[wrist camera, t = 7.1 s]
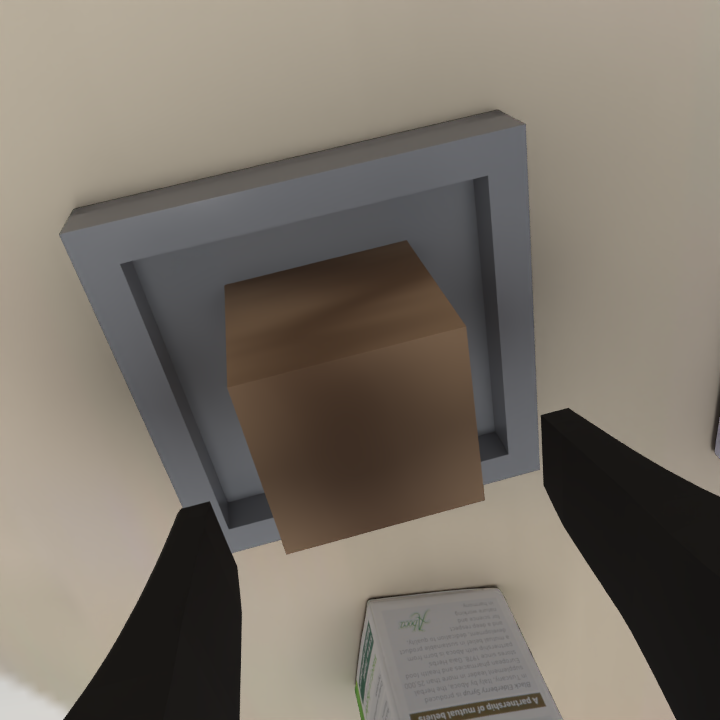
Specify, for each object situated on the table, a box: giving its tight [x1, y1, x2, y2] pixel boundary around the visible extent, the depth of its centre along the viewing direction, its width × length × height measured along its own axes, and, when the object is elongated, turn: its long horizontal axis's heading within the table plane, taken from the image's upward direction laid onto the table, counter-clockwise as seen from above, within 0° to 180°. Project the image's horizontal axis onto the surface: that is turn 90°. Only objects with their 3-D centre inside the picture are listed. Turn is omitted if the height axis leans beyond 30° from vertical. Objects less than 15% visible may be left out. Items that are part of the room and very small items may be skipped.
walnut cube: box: [224, 240, 485, 554], centre depth 17 cm, size 5×5×5 cm
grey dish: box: [59, 110, 540, 553], centre depth 19 cm, size 11×11×2 cm
